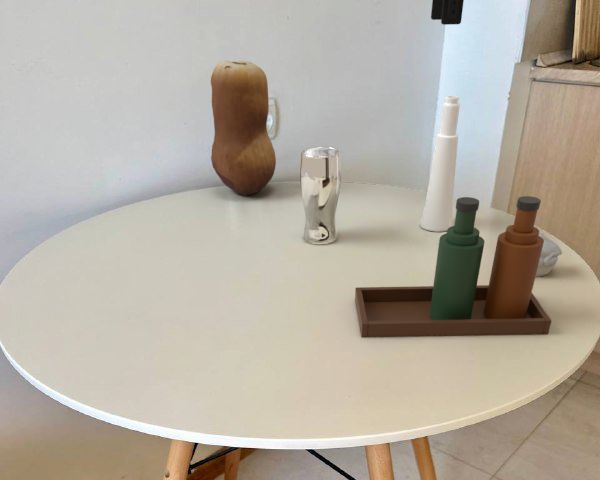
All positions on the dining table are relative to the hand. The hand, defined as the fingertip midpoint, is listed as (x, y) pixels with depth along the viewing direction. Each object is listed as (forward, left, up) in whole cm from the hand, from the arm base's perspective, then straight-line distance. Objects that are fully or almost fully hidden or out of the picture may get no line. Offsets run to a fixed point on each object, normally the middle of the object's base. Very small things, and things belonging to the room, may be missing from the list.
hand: (445, 21), depth 102 cm
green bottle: (+5, +48, -31) cm, 57 cm away
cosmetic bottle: (0, +12, -32) cm, 34 cm away
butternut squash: (+37, -10, -32) cm, 50 cm away
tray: (+5, +48, -32) cm, 58 cm away
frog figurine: (-11, +34, -32) cm, 48 cm away
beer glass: (+22, +17, -32) cm, 42 cm away
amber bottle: (-3, +48, -31) cm, 57 cm away
